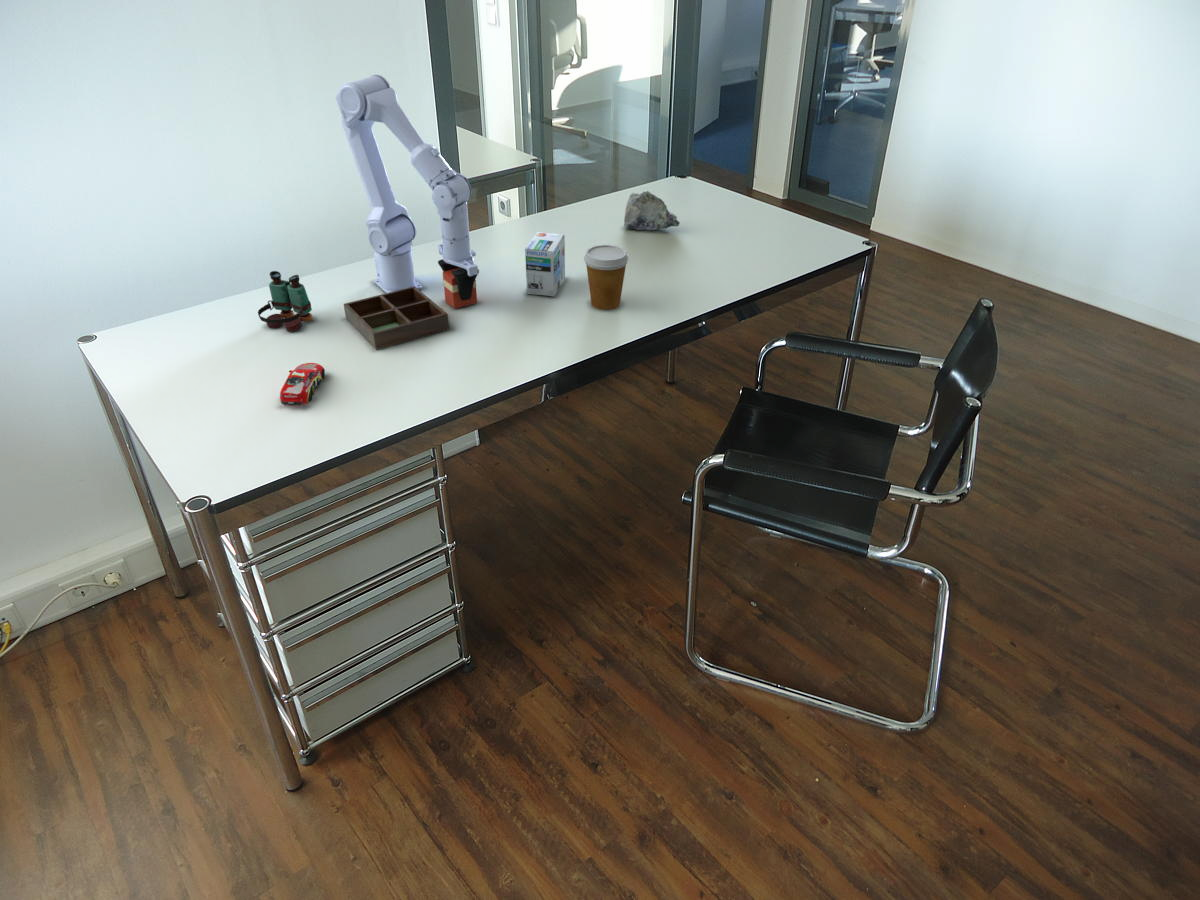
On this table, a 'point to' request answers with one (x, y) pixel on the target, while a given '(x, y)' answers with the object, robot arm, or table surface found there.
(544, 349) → the table surface
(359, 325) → the organiser
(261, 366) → the table surface
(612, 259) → the disposable coffee cup
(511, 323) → the table surface
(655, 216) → the mineral rock
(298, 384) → the race car
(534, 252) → the light bulb box
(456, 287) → the red cream striped block
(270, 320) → the binoculars
